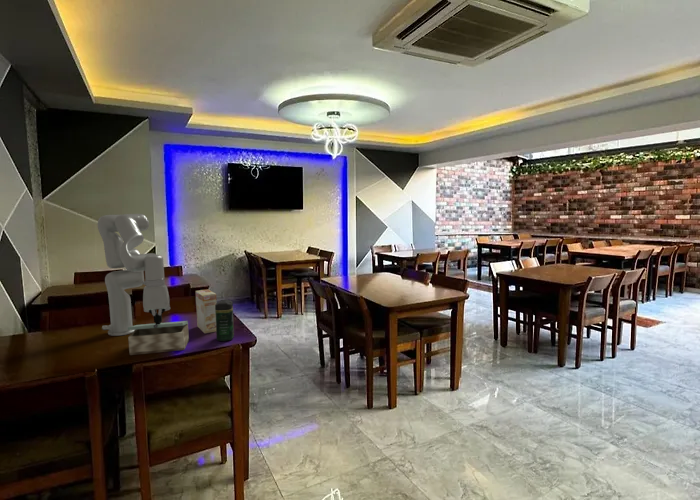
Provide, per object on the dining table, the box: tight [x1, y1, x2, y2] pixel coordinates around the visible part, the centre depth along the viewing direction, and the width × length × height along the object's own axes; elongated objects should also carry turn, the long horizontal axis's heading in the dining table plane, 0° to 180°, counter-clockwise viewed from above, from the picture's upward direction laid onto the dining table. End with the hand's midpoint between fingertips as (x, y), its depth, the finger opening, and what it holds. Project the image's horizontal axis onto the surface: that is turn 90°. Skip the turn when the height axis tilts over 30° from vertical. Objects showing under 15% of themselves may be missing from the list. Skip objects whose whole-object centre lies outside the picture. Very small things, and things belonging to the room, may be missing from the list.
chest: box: [128, 323, 190, 356], centre depth 180 cm, size 22×14×8 cm, turn 104°
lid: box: [128, 320, 189, 330], centre depth 179 cm, size 22×15×2 cm
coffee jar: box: [215, 299, 235, 342], centre depth 190 cm, size 10×8×19 cm
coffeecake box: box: [195, 289, 217, 334], centre depth 206 cm, size 15×7×20 cm, turn 34°
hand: (158, 323), depth 177 cm, fingers closed
